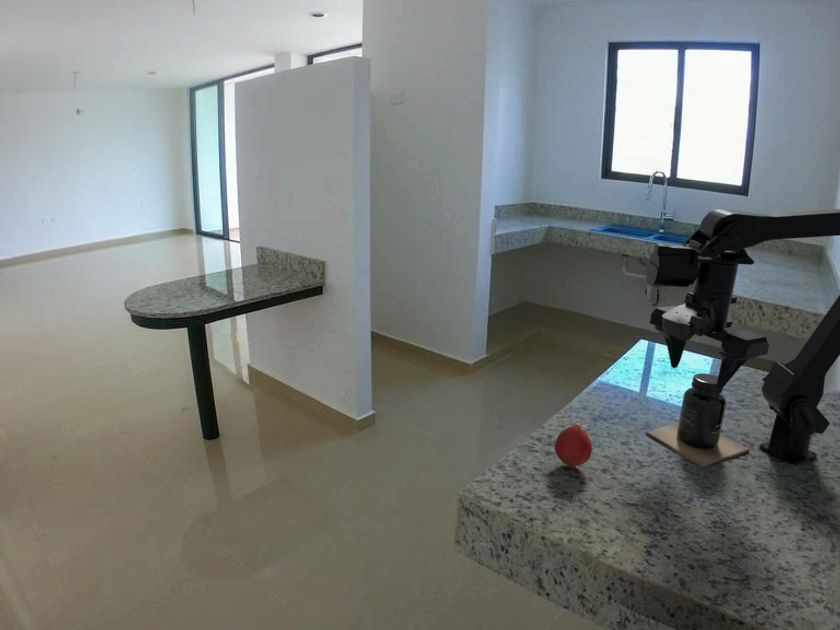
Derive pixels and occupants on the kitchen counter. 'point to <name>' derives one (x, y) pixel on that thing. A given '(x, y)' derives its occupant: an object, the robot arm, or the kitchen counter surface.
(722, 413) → the supplement bottle
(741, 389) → the kitchen counter surface
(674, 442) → the tan board
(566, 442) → the onion
